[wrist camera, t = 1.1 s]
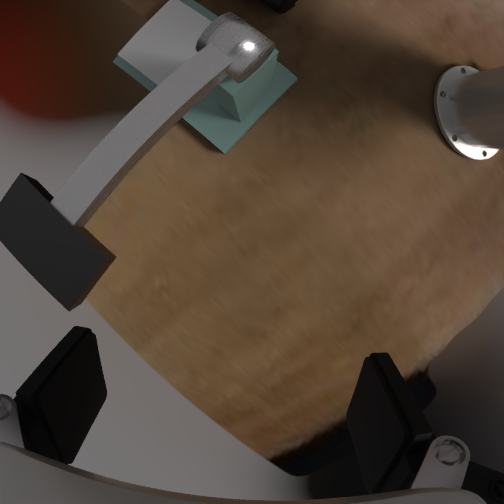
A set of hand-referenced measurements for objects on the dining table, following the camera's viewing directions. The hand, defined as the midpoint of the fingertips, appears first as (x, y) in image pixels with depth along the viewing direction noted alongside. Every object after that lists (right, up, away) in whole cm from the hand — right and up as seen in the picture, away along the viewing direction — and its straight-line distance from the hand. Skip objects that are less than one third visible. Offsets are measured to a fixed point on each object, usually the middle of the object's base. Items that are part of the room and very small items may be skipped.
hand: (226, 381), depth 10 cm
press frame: (-4, +24, +21) cm, 32 cm away
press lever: (-5, +10, +5) cm, 12 cm away
